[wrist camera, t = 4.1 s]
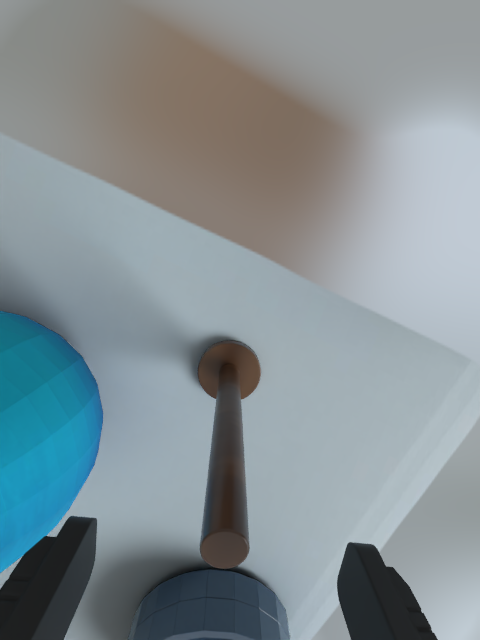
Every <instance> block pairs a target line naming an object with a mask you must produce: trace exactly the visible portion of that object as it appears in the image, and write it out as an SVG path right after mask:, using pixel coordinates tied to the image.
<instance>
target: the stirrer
mask: <svg viewBox="0 0 480 640" xmlns="http://www.w3.org/2000/svg"><path fill="white" fill-rule="evenodd" d="M260 376H261V368H260V364H259V360H258V358H257V356H256V354H255V353H254V351H253V350H252V349H251V348H250V347H248V346H247V345H245V344H243V343H241V342H238V341H232V340H227V341H221V342H218V343H216V344H214V345H212V346H211V347H209V348H208V349H207V350H206V351H205V352H204V354H203V355H202V357H201V360H200V363H199V366H198V378H199V382H200V384H201V386H202V388H203V389H204V390H205V392H206V393H207V394H209V395H210V396H211V397H213V398H215V399H216V407H215V416H214V425H213V434H212V443H211V452H210V461H209V470H208V479H207V488H206V497H205V506H204V515H203V524H202V533H201V542H200V553H201V556H202V558H203V559H204V561H205V562H206V563H208V564H209V565H211V566H213V567H216V568H220V569H228V568H233V567H235V566H238V565H239V564H241V563H242V562H243V561H244V560H245V559H246V557H247V555H248V553H249V532H248V514H247V497H246V479H245V461H244V444H243V426H242V409H241V399H244V398H245V397H247V396H249V395H250V394H251V393H252V392H253V391H254V390H255V389H256V387H257V385H258V383H259V381H260Z"/></svg>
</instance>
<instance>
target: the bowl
mask: <svg viewBox="0 0 480 640" xmlns="http://www.w3.org/2000/svg"><path fill="white" fill-rule="evenodd" d="M128 640H290V633H289V627H288V621H287V616H286V610H285V608H284V607H283V605H282V604H281V602H280V601H279V599H278V598H277V596H276V595H275V593H274V592H272V591H271V590H270V589H268V588H267V587H266V586H264V585H263V584H262V583H260V582H259V581H257V580H255V579H252V578H250V577H248V576H245V575H242V574H240V573H236V572H232V571H227V570H219V569H207V570H198V571H192V572H188V573H184V574H181V575H179V576H177V577H174V578H172V579H170V580H167V581H165V582H163V583H161V584H160V585H158V586H157V587H156V588H155V589H154V590H153V591H151V592H150V593H149V594H148V595H147V596H146V597H145V598H143V600H142V602H141V604H140V606H139V608H138V609H137V611H136V613H135V615H134V618H133V622H132V626H131V629H130V633H129V637H128Z"/></svg>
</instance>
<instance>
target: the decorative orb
mask: <svg viewBox="0 0 480 640" xmlns="http://www.w3.org/2000/svg"><path fill="white" fill-rule="evenodd" d="M102 423H103V410H102V405H101V400H100V395H99V390H98V385H97V383H96V380H95V378H94V377H93V375H92V373H91V371H90V370H89V368H88V366H87V364H86V363H85V361H84V359H83V357H82V356H81V355H80V354H79V353H78V352H77V351H76V350H75V349H74V348H73V347H72V346H71V345H70V344H68V343H67V342H66V341H65V340H64V339H63V338H62V337H61V336H60V335H58V334H57V333H55V332H53V331H51V330H49V329H48V328H46V327H44V326H42V325H40V324H38V323H36V322H35V321H33V320H31V319H29V318H27V317H24V316H21V315H17V314H13V313H8V312H4V311H0V573H1V572H2V571H4V570H5V569H6V568H8V567H9V566H10V565H11V564H13V563H14V562H15V561H17V560H18V559H19V558H20V557H22V556H23V555H24V554H25V553H26V552H27V551H28V550H29V549H31V548H32V547H33V546H34V545H35V544H36V543H37V542H38V541H40V540H41V539H42V538H43V537H44V536H46V535H47V534H48V533H49V532H50V531H51V530H52V529H53V528H54V527H55V526H56V525H57V524H58V523H59V521H60V520H61V519H62V517H63V516H64V515H65V513H66V512H67V511H68V509H69V508H70V506H71V505H72V503H73V501H74V500H75V498H76V496H77V495H78V493H79V491H80V490H81V488H82V486H83V484H84V483H85V481H86V479H87V477H88V476H89V474H90V472H91V470H92V468H93V466H94V464H95V460H96V457H97V453H98V449H99V442H100V436H101V430H102Z"/></svg>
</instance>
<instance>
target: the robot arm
mask: <svg viewBox="0 0 480 640" xmlns="http://www.w3.org/2000/svg"><path fill="white" fill-rule="evenodd" d="M96 533H97V519H96V518H88V517H77V516H71V517H69V518H68V519H67V521H66V522H65V524H64V525H63V527H62V529H61V530H60V532H59V534H58V535H57V537H48V536H44V537H43V538H42V539H41V540H40V541H38V542H37V543H36V544H35V545H34V546H33V547H32V548H31V549H29V550H28V551H27V552H26V553H25V554H24V555H23V557H22V558H21V560H20V561H19V563H18V564H17V566H16V567H15V569H14V570H13V572H12V573H11V575H10V577H9V579H8V580H6V582H5V583H4V585H3V586H2V588H1V589H0V640H64V637H65V635H66V633H67V630H68V628H69V626H70V623H71V621H72V619H73V616H74V614H75V612H76V609H77V607H78V605H79V602H80V600H81V598H82V595H83V593H84V591H85V589H86V586H87V584H88V581H89V579H90V576H91V573H92V569H93V566H94V561H95V554H96ZM337 589H338V597H339V601H340V605H341V608H342V611H343V615H344V618H345V621H346V624H347V628H348V630H349V634H350V637H351V640H438V639H437V638H436V636H435V634H434V633H432V630H431V627H430V625H429V623H428V621H427V619H426V617H425V615H424V613H422V612H421V608H420V606H419V604H418V602H417V600H416V598H415V597H414V595H413V593H412V591H411V589H410V587H409V586H408V584H407V583H406V582H405V581H404V580H403V579H402V577H401V576H400V575H399V574H398V573H397V572H396V571H395V569H394V568H393V567H386V566H385V564H384V562H383V560H382V558H381V556H380V554H379V552H378V550H377V548H376V547H375V546H374V545H372V544H362V543H351V542H350V543H348V545H347V547H346V551H345V554H344V558H343V561H342V564H341V568H340V571H339V575H338V580H337Z"/></svg>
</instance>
